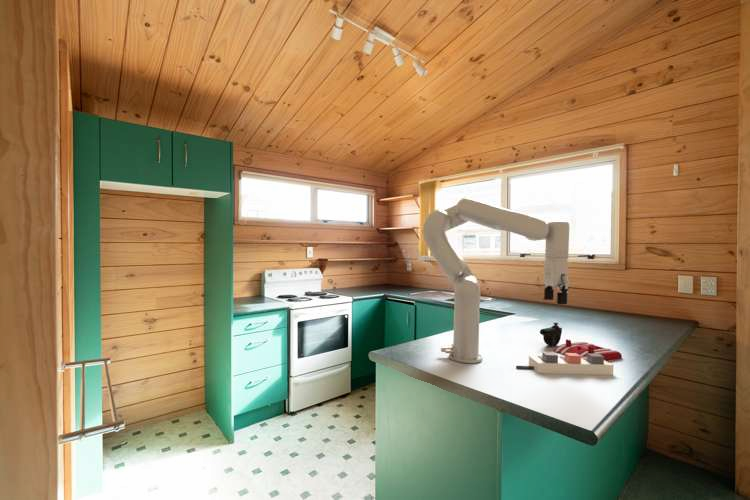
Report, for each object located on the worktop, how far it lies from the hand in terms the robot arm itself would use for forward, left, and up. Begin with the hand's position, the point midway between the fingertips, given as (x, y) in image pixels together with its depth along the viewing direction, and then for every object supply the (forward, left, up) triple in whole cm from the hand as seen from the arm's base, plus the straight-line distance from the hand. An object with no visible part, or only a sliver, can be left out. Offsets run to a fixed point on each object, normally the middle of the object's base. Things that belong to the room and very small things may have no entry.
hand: (555, 301), depth 130 cm
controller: (+13, +29, -24) cm, 40 cm away
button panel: (+2, -2, -24) cm, 24 cm away
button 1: (-3, -4, -21) cm, 22 cm away
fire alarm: (+22, +17, -25) cm, 37 cm away
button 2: (+5, -4, -21) cm, 22 cm away
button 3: (+13, -4, -21) cm, 25 cm away
